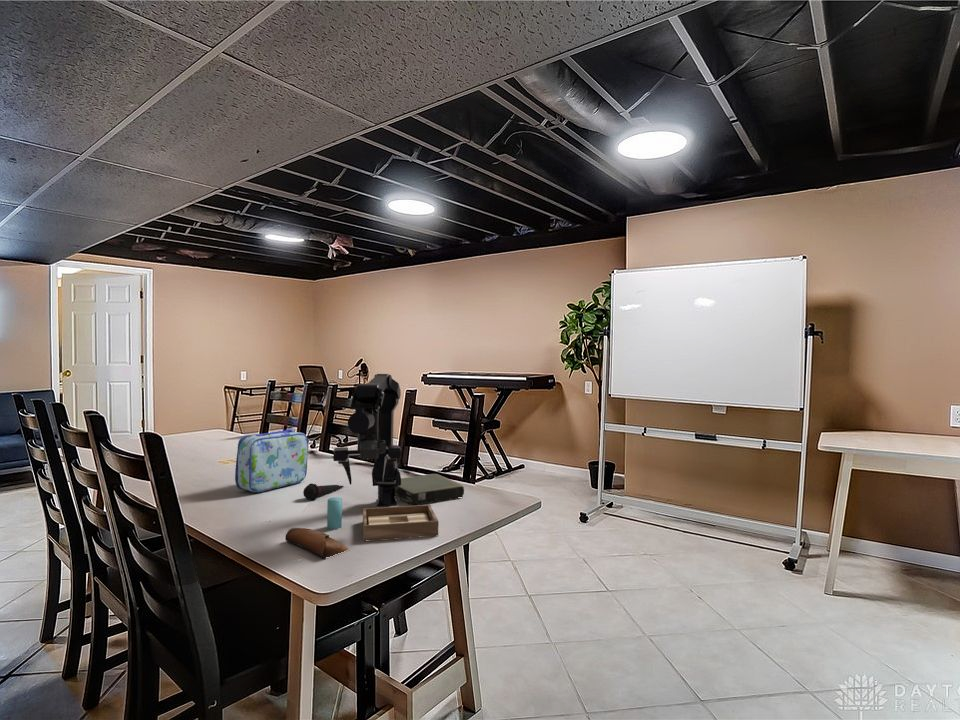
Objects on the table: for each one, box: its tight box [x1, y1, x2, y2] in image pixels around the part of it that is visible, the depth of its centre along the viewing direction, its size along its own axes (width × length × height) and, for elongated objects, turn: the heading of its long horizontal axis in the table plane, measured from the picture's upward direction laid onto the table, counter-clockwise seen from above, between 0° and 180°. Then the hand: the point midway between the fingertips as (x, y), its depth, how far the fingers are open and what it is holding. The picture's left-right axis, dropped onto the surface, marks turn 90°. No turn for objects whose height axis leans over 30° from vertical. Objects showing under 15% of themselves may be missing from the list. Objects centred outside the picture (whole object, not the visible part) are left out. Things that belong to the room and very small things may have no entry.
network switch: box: [395, 473, 465, 506], centre depth 178 cm, size 23×23×5 cm
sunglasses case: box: [285, 527, 349, 559], centre depth 128 cm, size 18×7×7 cm, turn 51°
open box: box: [362, 504, 440, 542], centre depth 142 cm, size 16×20×4 cm
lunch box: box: [234, 428, 309, 493], centre depth 186 cm, size 26×11×21 cm, turn 149°
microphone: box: [302, 483, 345, 501], centre depth 177 cm, size 6×6×20 cm
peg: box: [326, 497, 343, 530], centre depth 142 cm, size 4×4×8 cm
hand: (367, 483), depth 140 cm, fingers open, 9 cm apart
